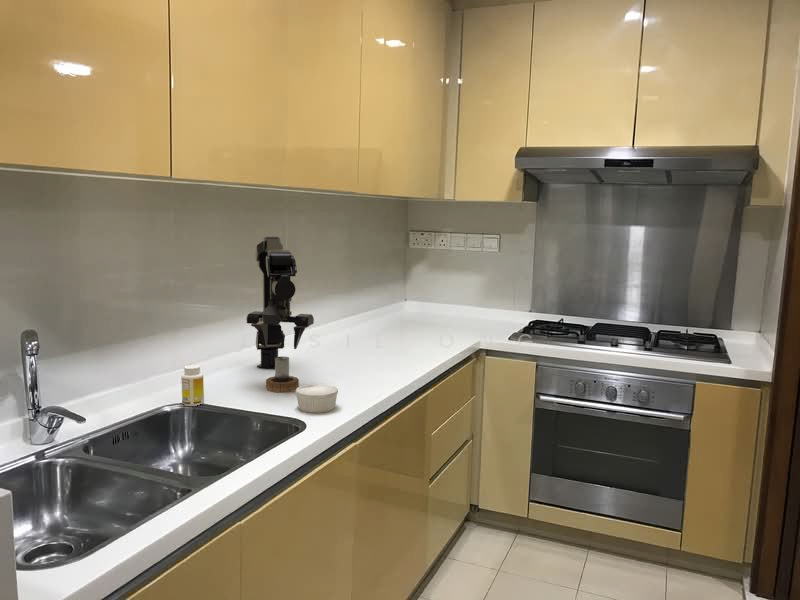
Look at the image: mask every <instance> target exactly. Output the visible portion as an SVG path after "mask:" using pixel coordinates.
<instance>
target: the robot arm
mask: <svg viewBox="0 0 800 600" xmlns="http://www.w3.org/2000/svg"><path fill="white" fill-rule="evenodd" d="M255 261H256V262H257V266H258V268H259V270H260V272H261V273H262V308H263V310H262V311H259V310H258V311H256V310H255V311H253V312H249V313H248V314H247V315H246V324H250V326H251V327H254V328H255V329H256V330H257V331H256V336H255V337H256V338H255V348H256V349H257V351H259V350H260V364H258V365H256V368H261V369H274V370H275V358H276V357H279V349H284V348H285V341H286V335H285V334H284V330H282V326H281V324H280V323H292V324H293V323H294V325H295V326H293V331H294V336H293V339H294V340H293V349H294V350H297V348H298V346H299V344H300V340H301V338H302V336H303V333H304V331H305V329H307V328H309V327H310V326H311V325H313V324H314V323H315V320H314V319H315V317H314V315H312V314H311V313H299V314H297V315H295V316H294V315H293V316H292V311H291V302H292V298H293V297H294V295H295V294H296V286H295V284H294V282H293V281H291V277H296V274H297V272H298V268H297V263H296V259H295V256H294V255H292V253H291V251H289V250H286V249H284V245H283V244H282V242H281V238H280V237H278V236H265V237H263V239H262V241H261V242H259V243H258V244H256V248H255Z"/></svg>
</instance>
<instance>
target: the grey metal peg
mask: <svg viewBox="0 0 800 600" xmlns="http://www.w3.org/2000/svg"><path fill="white" fill-rule="evenodd" d="M274 376H275V382H279V383H283V382H289V376H290V357H288V356H278V357H276V358H275V369H274Z"/></svg>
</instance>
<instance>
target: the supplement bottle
mask: <svg viewBox="0 0 800 600" xmlns="http://www.w3.org/2000/svg"><path fill="white" fill-rule="evenodd" d="M183 372H184V373H182V375H181V403H182V404H184V405H183V406H185V407H198V406H201V405H203V404H204V402H205V394H204V393H205V391H204V374H203V372H201V367H200V365H199V364H190V365H186V366H184V370H183ZM200 404H201V405H200ZM197 405H198V406H197Z"/></svg>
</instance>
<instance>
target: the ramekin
mask: <svg viewBox="0 0 800 600" xmlns="http://www.w3.org/2000/svg"><path fill="white" fill-rule="evenodd" d="M338 393H339V389H338V387H337V386H334V385H331V384H324V383H314V384H304V385H299V387H298V388H297V389H296V390H295V394H296V400H297V405H298V408H299V409H300V411H302V412H305V413H310V414H320V413H328V412H330V410H331V411H333V410H334V408H335V407H336V404H337V397H338Z"/></svg>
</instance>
